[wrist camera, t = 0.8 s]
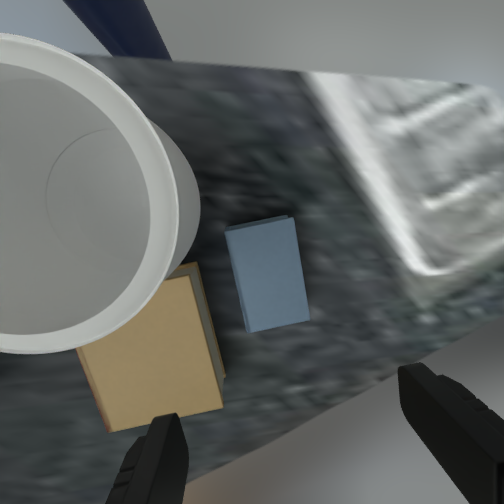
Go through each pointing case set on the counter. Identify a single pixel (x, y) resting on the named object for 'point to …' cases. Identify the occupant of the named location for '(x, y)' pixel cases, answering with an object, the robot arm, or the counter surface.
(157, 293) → the big book
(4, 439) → the counter surface
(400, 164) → the counter surface
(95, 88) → the jar
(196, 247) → the counter surface
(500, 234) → the counter surface
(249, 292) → the pocket book
